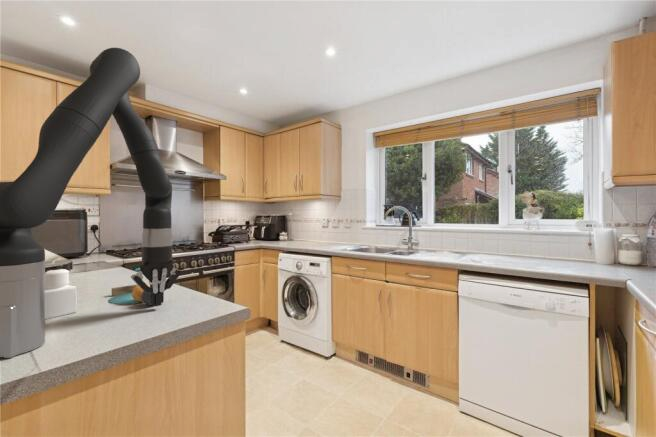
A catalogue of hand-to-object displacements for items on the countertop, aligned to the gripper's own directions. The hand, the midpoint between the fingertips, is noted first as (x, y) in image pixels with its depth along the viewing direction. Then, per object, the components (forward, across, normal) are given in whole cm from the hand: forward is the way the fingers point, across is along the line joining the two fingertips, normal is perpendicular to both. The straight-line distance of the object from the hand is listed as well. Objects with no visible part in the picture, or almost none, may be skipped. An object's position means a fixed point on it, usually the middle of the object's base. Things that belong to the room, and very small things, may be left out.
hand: (157, 305), depth 86 cm
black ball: (-2, -1, -6) cm, 6 cm away
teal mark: (+1, 0, -18) cm, 18 cm away
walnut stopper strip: (+1, 0, -25) cm, 25 cm away
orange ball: (-2, 0, -11) cm, 11 cm away
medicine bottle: (+2, +20, -16) cm, 25 cm away
